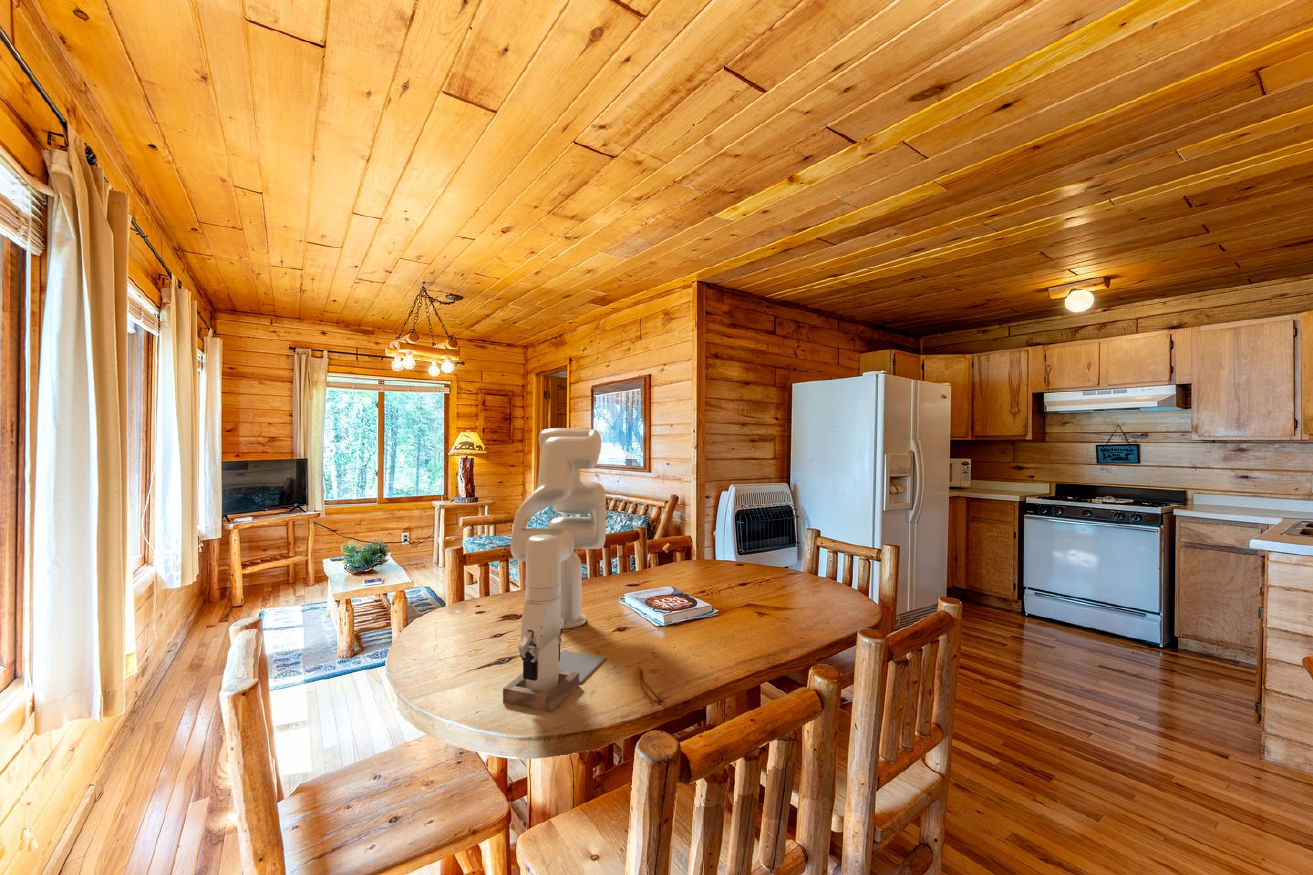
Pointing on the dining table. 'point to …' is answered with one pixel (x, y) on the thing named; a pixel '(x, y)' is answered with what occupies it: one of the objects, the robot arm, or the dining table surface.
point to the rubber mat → (579, 663)
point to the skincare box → (546, 668)
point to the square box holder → (541, 692)
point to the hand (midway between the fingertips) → (542, 669)
